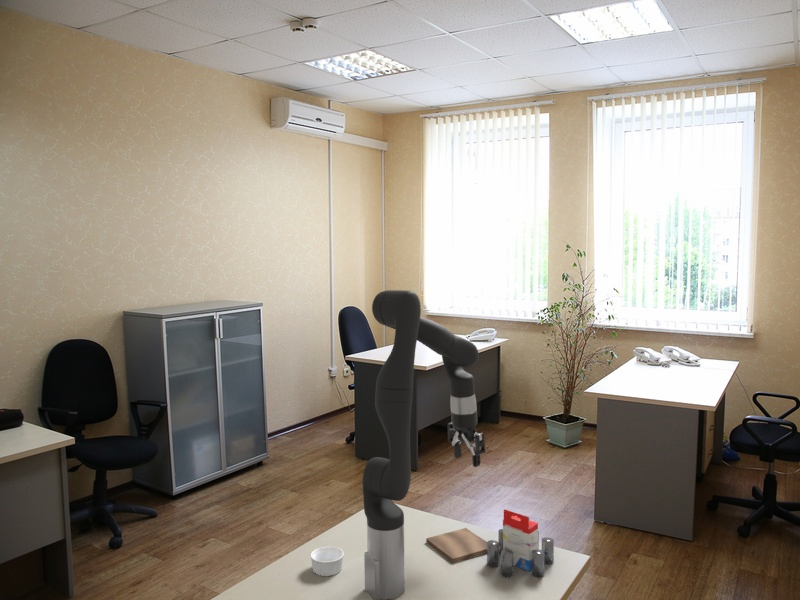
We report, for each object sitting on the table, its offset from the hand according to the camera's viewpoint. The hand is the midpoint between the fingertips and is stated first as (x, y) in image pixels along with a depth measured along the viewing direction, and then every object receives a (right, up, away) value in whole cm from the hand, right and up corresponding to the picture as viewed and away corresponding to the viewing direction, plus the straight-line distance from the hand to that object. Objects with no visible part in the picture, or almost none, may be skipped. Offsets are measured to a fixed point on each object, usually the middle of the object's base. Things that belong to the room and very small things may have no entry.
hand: (467, 461), depth 178 cm
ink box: (+13, -24, -14) cm, 31 cm away
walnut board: (-3, -23, -4) cm, 24 cm away
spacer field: (+13, -24, -14) cm, 30 cm away
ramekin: (-39, -25, -16) cm, 49 cm away
